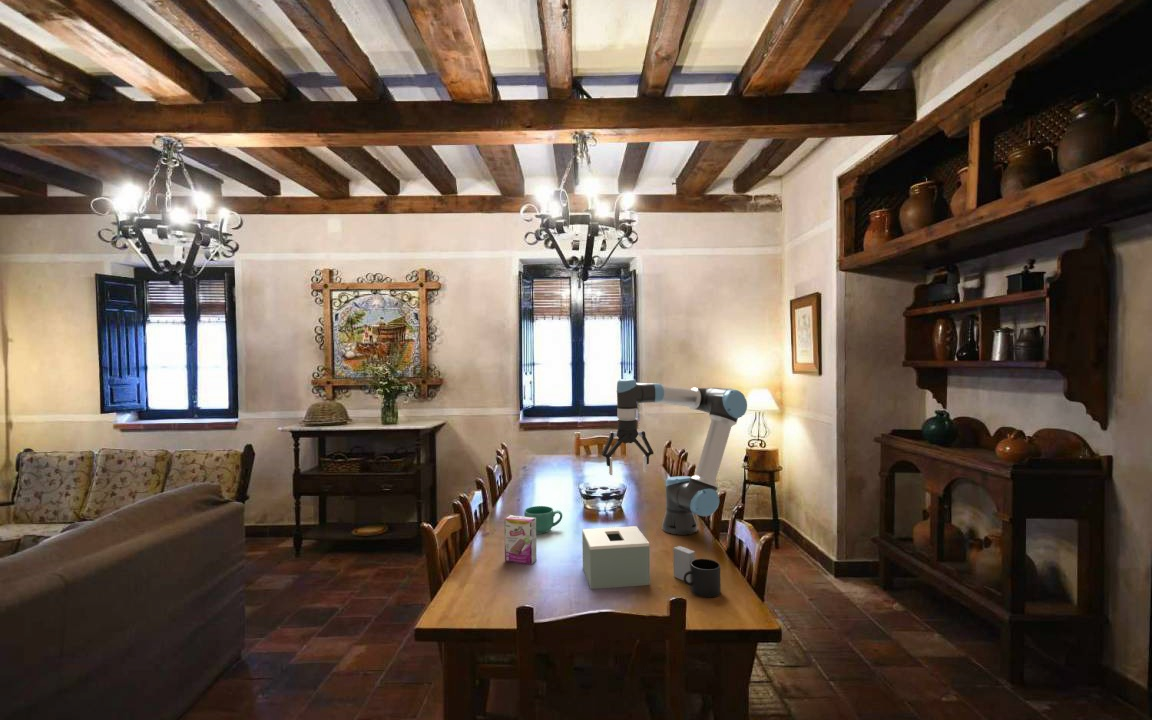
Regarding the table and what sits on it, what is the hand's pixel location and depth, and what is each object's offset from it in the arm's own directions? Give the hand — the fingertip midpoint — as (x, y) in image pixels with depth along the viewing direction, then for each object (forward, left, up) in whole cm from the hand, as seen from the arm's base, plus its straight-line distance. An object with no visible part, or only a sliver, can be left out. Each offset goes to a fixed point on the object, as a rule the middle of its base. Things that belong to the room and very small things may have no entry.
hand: (627, 473), depth 211 cm
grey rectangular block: (-13, +28, -31) cm, 43 cm away
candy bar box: (+42, +3, -31) cm, 52 cm away
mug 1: (+31, -30, -31) cm, 53 cm away
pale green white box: (+10, +22, -31) cm, 39 cm away
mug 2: (-15, +39, -31) cm, 52 cm away
